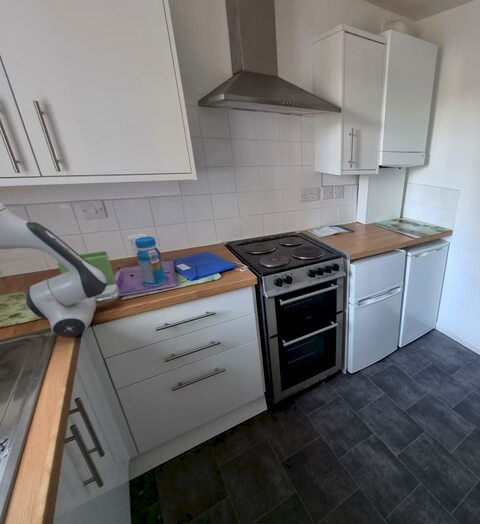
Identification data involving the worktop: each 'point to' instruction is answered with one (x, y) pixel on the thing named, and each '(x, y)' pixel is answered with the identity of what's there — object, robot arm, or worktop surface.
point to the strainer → (134, 242)
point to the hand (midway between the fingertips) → (86, 289)
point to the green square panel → (96, 265)
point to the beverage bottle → (150, 262)
